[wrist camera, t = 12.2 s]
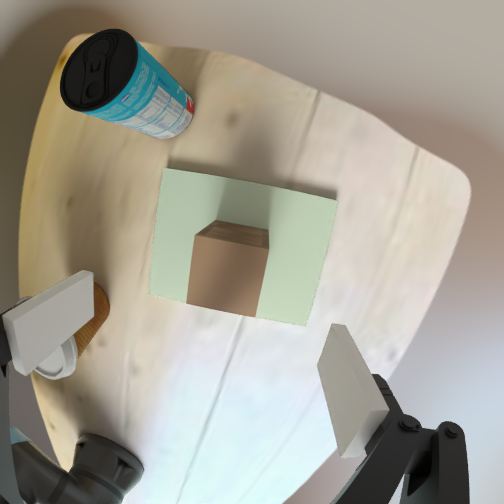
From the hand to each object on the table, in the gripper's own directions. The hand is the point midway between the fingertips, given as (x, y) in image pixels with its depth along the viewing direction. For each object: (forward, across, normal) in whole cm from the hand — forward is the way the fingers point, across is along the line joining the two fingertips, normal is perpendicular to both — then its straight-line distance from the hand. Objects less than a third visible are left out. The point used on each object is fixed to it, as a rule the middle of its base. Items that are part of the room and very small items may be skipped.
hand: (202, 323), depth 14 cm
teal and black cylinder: (+17, -10, +13) cm, 24 cm away
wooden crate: (+16, 0, 0) cm, 16 cm away
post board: (+16, 0, 0) cm, 17 cm away
